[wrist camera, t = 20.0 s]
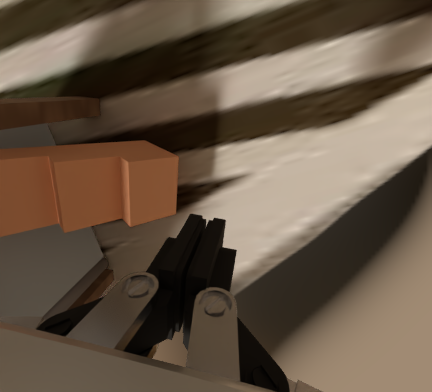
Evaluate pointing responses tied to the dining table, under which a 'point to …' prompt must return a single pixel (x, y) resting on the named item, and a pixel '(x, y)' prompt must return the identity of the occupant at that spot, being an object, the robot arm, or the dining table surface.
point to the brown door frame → (47, 113)
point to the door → (44, 253)
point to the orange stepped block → (85, 185)
